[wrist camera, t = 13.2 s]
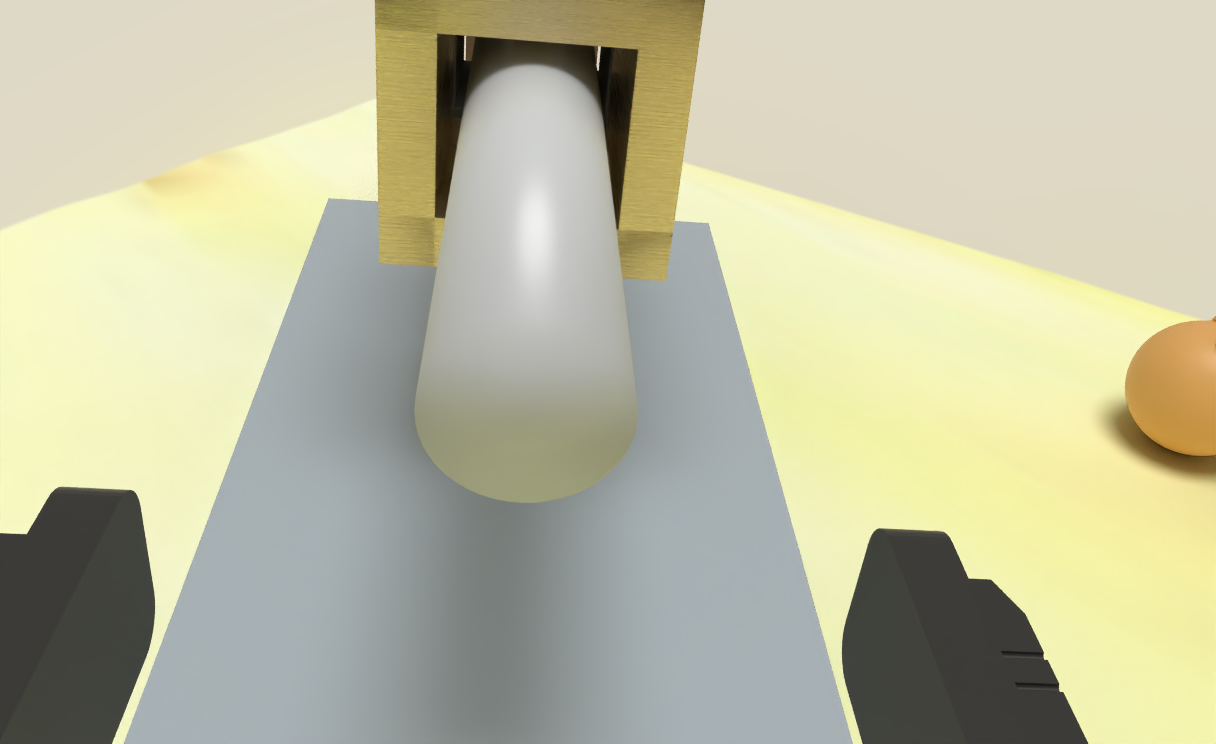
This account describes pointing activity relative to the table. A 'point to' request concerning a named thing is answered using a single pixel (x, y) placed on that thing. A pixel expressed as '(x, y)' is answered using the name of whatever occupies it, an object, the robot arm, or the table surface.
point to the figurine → (1176, 388)
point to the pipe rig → (501, 481)
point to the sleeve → (546, 12)
